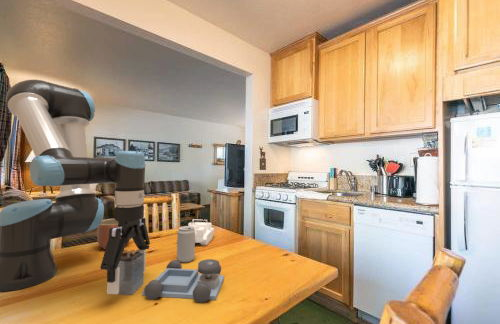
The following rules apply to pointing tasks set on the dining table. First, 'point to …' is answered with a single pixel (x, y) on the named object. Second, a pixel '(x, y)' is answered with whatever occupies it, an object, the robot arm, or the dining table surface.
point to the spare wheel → (208, 267)
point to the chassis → (184, 284)
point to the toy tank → (202, 231)
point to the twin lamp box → (131, 272)
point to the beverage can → (185, 244)
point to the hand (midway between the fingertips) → (128, 281)
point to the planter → (105, 231)
